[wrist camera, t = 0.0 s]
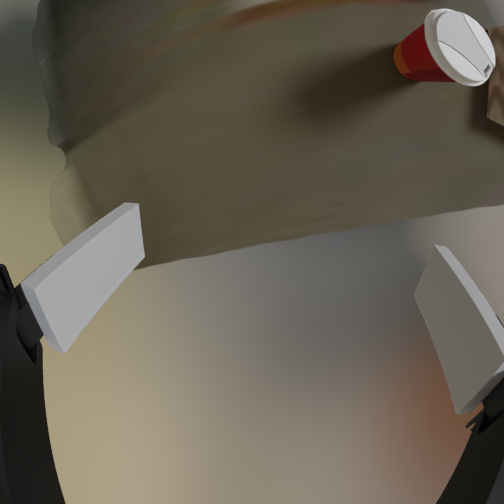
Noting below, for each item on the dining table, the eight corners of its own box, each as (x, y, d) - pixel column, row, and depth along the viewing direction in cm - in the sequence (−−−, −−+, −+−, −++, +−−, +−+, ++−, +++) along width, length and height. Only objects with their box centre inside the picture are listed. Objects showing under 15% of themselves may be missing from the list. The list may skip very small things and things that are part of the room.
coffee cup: (447, 66, 25) (509, 58, 12) (417, 100, 29) (476, 103, 16) (404, 23, 23) (452, -9, 10) (372, 57, 27) (413, 32, 14)
